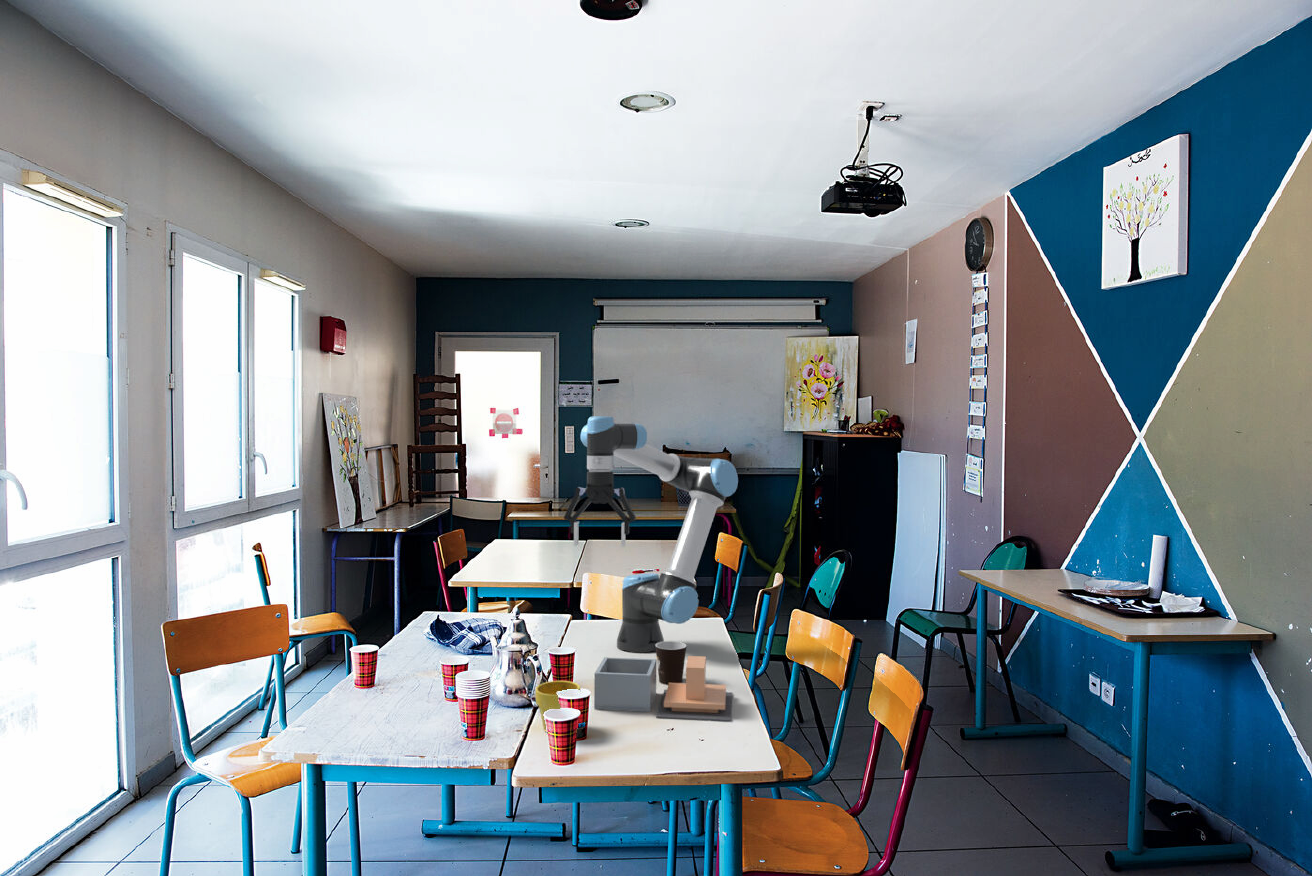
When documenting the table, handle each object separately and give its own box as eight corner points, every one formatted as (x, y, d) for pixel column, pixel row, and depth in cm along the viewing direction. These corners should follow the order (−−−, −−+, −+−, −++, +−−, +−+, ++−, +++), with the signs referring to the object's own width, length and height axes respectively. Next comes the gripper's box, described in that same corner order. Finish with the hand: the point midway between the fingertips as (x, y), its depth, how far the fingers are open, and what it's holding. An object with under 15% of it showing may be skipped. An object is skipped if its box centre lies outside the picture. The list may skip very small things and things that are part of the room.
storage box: (604, 690, 214) (604, 657, 214) (656, 693, 213) (656, 659, 213) (594, 709, 200) (594, 673, 200) (649, 711, 199) (650, 675, 199)
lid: (668, 692, 212) (669, 652, 212) (725, 695, 210) (726, 654, 210) (663, 713, 197) (664, 669, 197) (725, 715, 195) (725, 672, 195)
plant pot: (530, 736, 182) (531, 693, 182) (540, 720, 193) (540, 679, 192) (575, 738, 182) (576, 695, 181) (583, 721, 192) (583, 681, 192)
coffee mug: (683, 687, 218) (683, 650, 218) (652, 684, 219) (652, 648, 219) (690, 674, 229) (690, 639, 229) (660, 672, 231) (660, 637, 231)
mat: (664, 691, 214) (664, 689, 214) (732, 694, 213) (732, 692, 213) (656, 718, 195) (656, 716, 195) (730, 721, 193) (730, 719, 193)
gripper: (554, 470, 225) (553, 546, 226) (642, 472, 223) (641, 548, 223) (560, 469, 233) (559, 542, 233) (645, 470, 230) (644, 544, 230)
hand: (599, 545), depth 228 cm, fingers open, 13 cm apart
